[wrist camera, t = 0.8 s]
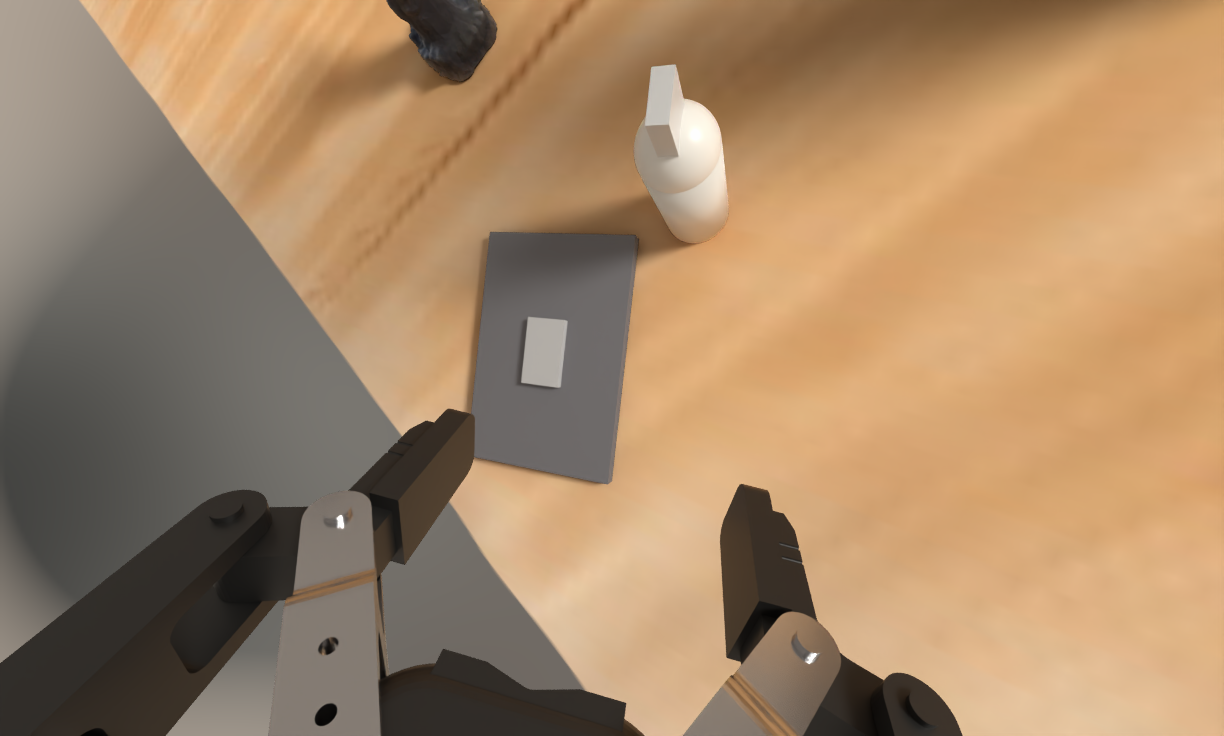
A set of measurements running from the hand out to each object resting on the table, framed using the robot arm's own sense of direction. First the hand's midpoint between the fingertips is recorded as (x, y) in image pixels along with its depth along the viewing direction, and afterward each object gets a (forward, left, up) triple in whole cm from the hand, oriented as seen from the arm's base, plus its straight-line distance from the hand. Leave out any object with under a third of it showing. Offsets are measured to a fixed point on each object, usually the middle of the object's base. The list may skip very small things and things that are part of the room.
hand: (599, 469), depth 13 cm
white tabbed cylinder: (-14, -1, -19) cm, 23 cm away
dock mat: (-3, -11, -19) cm, 22 cm away
